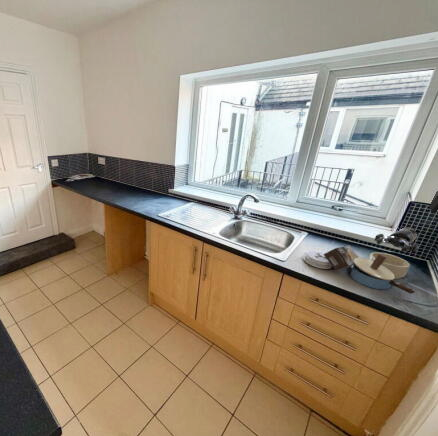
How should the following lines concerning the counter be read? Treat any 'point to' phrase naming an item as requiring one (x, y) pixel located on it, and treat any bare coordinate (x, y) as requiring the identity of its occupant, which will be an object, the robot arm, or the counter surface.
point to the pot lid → (375, 267)
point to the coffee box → (341, 257)
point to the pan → (376, 281)
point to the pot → (393, 264)
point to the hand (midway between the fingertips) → (390, 245)
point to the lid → (317, 259)
